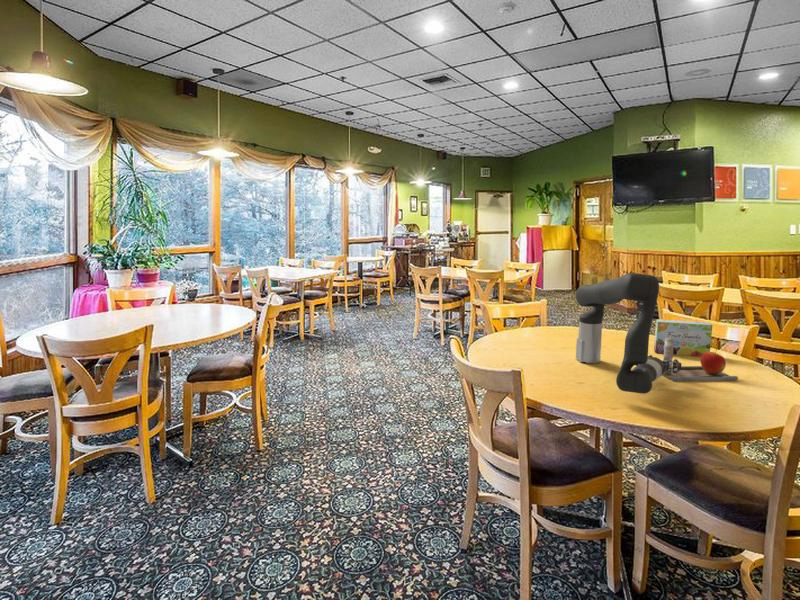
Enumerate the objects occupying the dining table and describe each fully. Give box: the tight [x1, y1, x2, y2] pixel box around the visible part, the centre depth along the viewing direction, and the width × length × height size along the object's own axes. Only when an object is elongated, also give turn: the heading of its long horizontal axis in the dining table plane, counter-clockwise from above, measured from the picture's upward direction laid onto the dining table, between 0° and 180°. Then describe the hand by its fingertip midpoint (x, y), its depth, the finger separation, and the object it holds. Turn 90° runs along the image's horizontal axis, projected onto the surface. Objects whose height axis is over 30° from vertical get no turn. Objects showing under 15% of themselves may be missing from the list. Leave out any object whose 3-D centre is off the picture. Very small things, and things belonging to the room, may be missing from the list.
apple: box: [700, 348, 727, 374], centre depth 182 cm, size 8×8×10 cm
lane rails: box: [671, 365, 739, 382], centre depth 183 cm, size 24×14×2 cm, turn 89°
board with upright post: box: [662, 338, 730, 381], centre depth 181 cm, size 24×10×15 cm, turn 89°
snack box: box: [653, 318, 713, 358], centre depth 211 cm, size 21×6×15 cm, turn 68°
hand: (663, 359), depth 177 cm, fingers open, 8 cm apart
